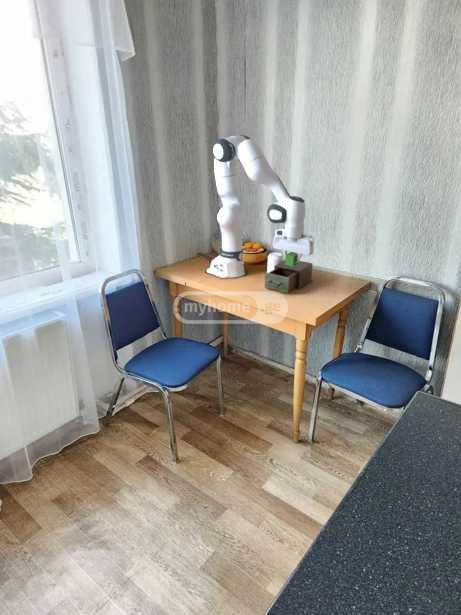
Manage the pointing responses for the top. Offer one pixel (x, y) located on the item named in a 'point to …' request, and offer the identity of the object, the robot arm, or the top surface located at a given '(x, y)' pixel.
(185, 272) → the top surface
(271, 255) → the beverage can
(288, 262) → the green block
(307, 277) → the cabinet
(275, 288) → the drawer
